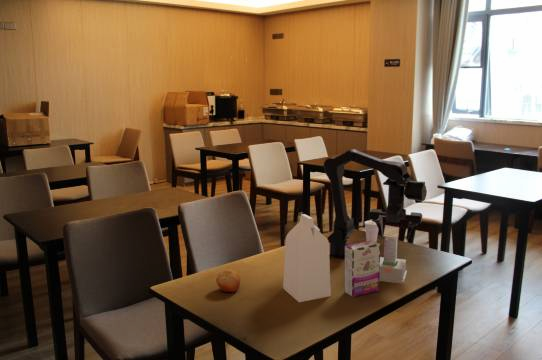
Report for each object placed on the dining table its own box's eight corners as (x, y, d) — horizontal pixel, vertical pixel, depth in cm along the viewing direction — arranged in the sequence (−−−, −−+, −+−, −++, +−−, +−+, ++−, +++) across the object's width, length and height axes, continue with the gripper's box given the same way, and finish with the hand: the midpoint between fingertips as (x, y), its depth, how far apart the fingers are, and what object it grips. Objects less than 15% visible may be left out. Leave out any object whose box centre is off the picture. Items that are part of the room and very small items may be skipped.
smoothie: (380, 246, 216) (381, 214, 214) (365, 247, 216) (365, 214, 214) (377, 242, 223) (378, 210, 220) (362, 242, 223) (363, 210, 220)
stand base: (371, 280, 182) (371, 266, 181) (376, 268, 192) (376, 256, 191) (403, 284, 178) (404, 270, 177) (407, 272, 188) (407, 259, 187)
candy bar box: (370, 285, 177) (371, 239, 174) (379, 291, 173) (381, 243, 169) (343, 292, 172) (344, 244, 169) (352, 297, 168) (353, 249, 164)
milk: (283, 288, 175) (282, 213, 170) (313, 282, 180) (314, 210, 175) (298, 302, 165) (299, 223, 159) (330, 296, 169) (332, 219, 164)
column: (382, 265, 183) (383, 239, 181) (384, 261, 187) (385, 236, 185) (395, 267, 182) (396, 241, 180) (396, 262, 185) (398, 237, 184)
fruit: (246, 280, 178) (241, 266, 173) (239, 300, 173) (233, 285, 168) (224, 278, 181) (219, 263, 176) (217, 296, 175) (211, 282, 170)
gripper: (366, 200, 185) (364, 242, 188) (420, 204, 178) (418, 248, 182) (372, 193, 195) (370, 233, 198) (423, 197, 189) (421, 238, 192)
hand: (394, 238), depth 192 cm, fingers open, 9 cm apart
